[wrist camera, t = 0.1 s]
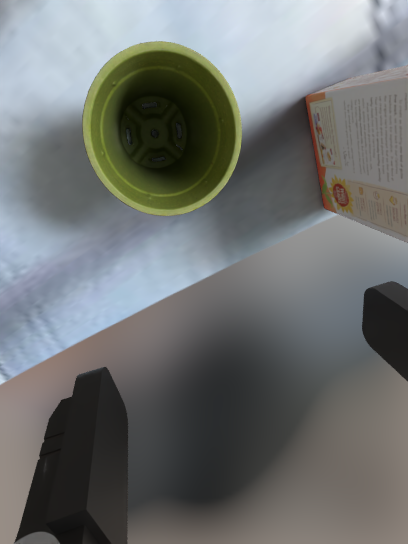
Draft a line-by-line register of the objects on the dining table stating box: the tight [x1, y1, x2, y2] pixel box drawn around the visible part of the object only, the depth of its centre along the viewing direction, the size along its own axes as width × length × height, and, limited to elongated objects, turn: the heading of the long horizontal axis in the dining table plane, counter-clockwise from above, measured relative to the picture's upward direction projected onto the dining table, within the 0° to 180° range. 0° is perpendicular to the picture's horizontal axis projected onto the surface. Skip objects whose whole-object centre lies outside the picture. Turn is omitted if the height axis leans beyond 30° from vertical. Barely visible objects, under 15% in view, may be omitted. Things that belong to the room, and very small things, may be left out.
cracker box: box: [305, 65, 408, 243], centre depth 28 cm, size 14×6×21 cm, turn 20°
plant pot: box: [82, 41, 242, 216], centre depth 28 cm, size 12×12×11 cm
